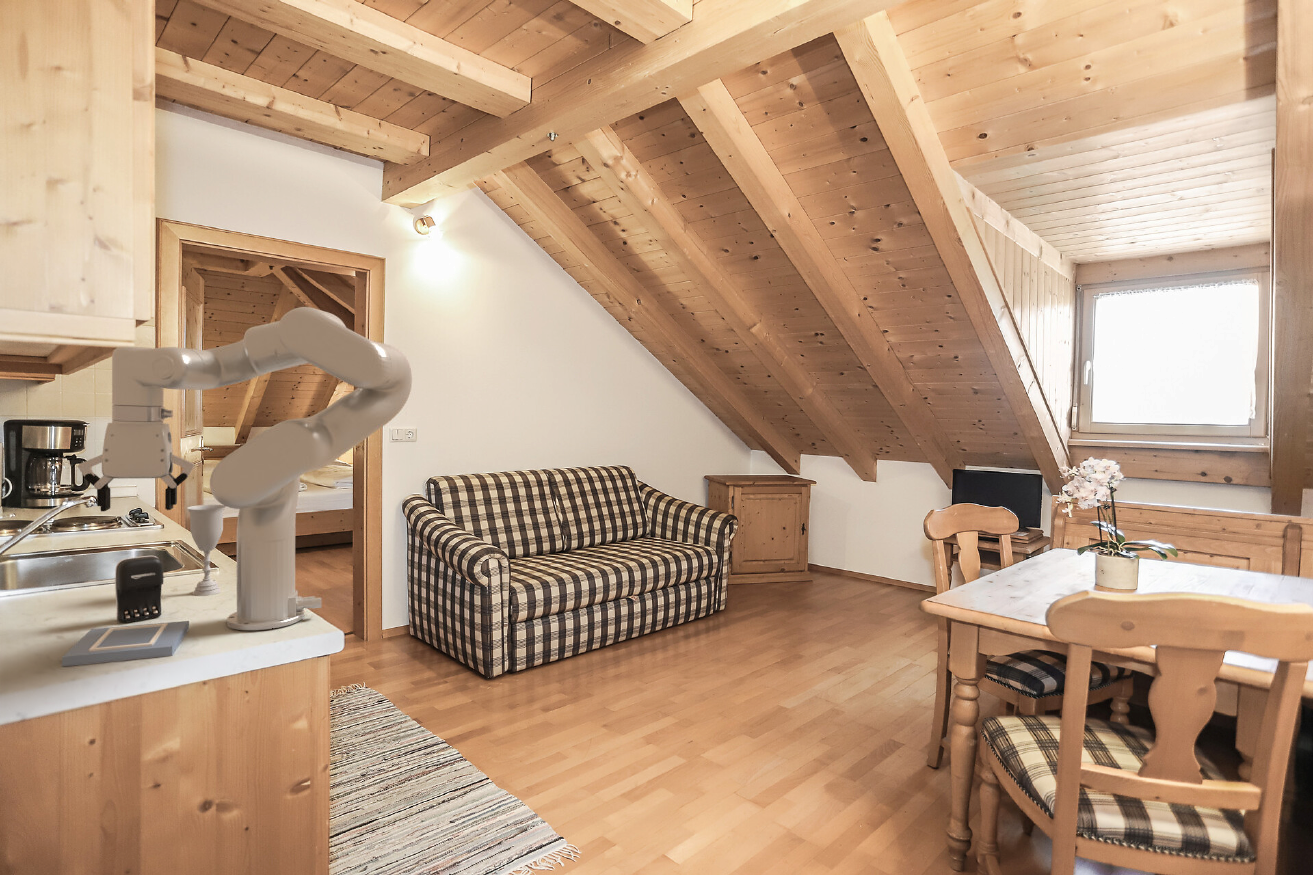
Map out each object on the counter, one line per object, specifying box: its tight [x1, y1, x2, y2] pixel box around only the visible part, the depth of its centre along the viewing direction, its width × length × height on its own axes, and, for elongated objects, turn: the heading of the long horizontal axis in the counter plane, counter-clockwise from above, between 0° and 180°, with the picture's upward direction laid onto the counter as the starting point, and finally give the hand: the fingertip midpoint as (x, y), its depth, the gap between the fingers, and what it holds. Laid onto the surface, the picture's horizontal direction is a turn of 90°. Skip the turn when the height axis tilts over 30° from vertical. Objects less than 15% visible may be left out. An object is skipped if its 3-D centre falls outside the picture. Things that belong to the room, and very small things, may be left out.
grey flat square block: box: [61, 620, 190, 667], centre depth 117 cm, size 14×14×2 cm
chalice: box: [187, 504, 226, 597], centre depth 150 cm, size 7×7×18 cm
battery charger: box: [114, 555, 164, 623], centre depth 131 cm, size 7×4×11 cm, turn 140°
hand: (137, 509), depth 130 cm, fingers open, 9 cm apart
